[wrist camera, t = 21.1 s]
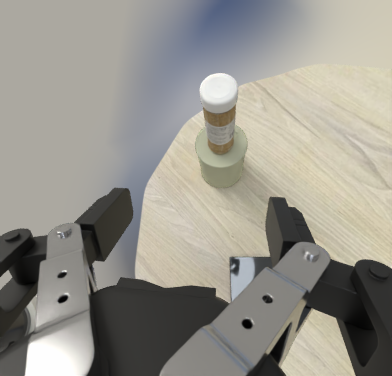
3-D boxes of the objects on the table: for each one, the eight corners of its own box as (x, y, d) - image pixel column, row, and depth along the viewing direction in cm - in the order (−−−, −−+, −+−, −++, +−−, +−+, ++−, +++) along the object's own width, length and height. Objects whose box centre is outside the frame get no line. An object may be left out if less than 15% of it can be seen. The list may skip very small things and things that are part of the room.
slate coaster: (231, 313, 42) (231, 314, 41) (229, 256, 45) (229, 256, 44) (288, 315, 41) (288, 316, 40) (281, 257, 44) (282, 257, 43)
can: (251, 170, 50) (259, 144, 38) (218, 196, 49) (217, 177, 37) (224, 142, 52) (224, 109, 41) (192, 166, 51) (183, 140, 40)
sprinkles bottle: (217, 127, 40) (214, 65, 27) (239, 139, 39) (246, 81, 26) (202, 146, 39) (191, 92, 27) (223, 159, 38) (223, 110, 25)
